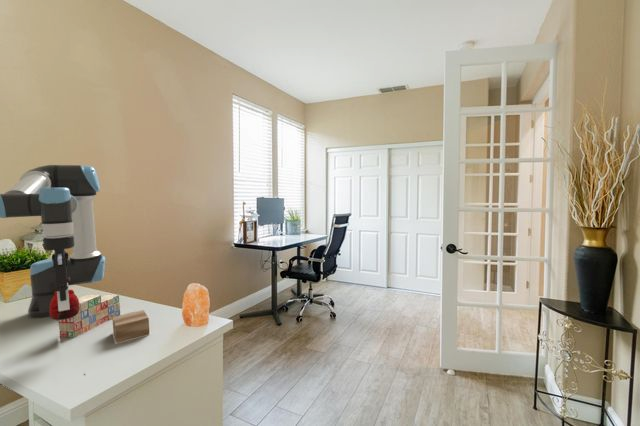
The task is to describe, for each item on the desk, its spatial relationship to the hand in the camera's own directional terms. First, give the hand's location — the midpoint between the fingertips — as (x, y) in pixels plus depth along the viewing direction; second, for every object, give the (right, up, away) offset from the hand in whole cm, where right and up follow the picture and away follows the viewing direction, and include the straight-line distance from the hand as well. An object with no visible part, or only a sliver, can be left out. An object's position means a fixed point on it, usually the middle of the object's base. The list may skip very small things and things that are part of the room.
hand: (64, 306), depth 101 cm
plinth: (+14, -14, +12) cm, 23 cm away
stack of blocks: (-6, -15, +21) cm, 26 cm away
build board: (+13, -14, +11) cm, 23 cm away
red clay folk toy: (0, -4, 0) cm, 4 cm away
